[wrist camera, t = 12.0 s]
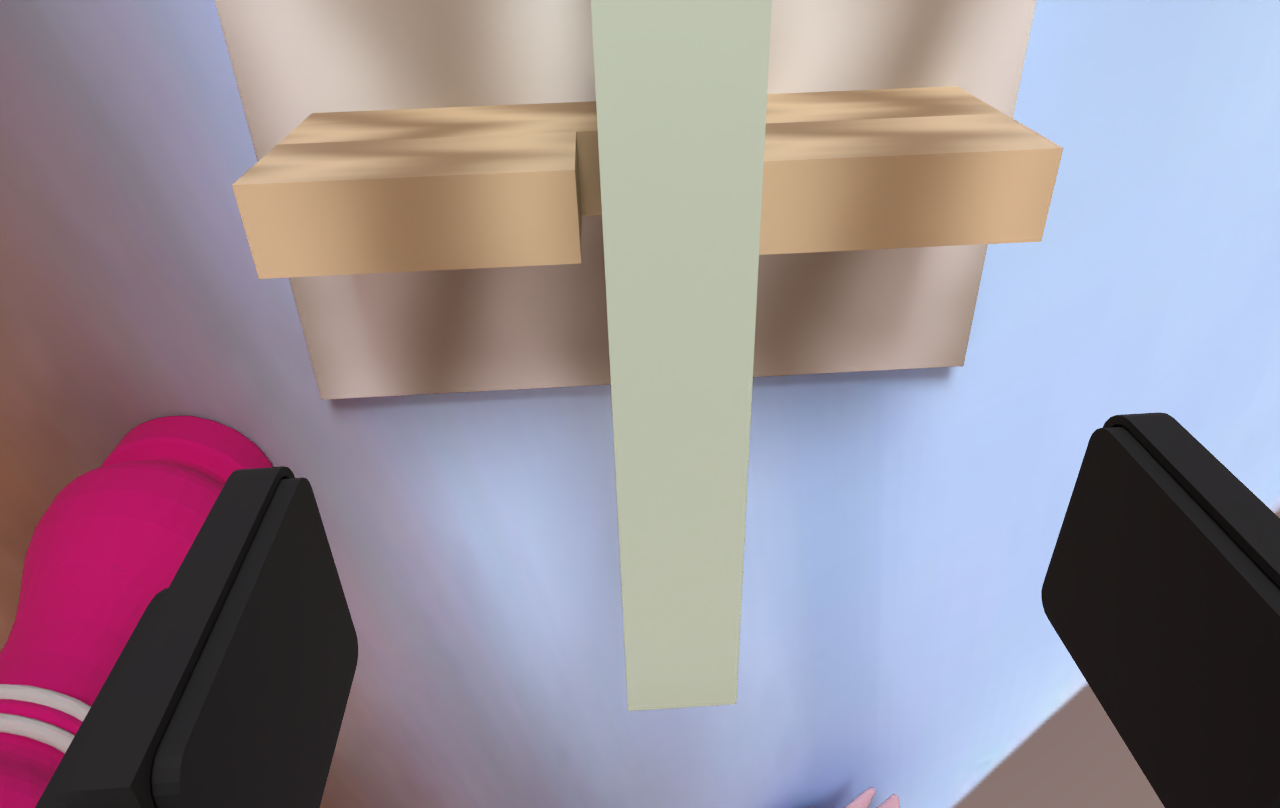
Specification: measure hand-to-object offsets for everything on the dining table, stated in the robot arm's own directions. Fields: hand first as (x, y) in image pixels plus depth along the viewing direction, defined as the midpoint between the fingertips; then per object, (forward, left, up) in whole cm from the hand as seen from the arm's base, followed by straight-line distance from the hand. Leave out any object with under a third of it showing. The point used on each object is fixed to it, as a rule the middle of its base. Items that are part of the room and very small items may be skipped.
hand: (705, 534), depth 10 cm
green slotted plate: (0, 0, -19) cm, 19 cm away
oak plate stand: (0, 0, -20) cm, 20 cm away
